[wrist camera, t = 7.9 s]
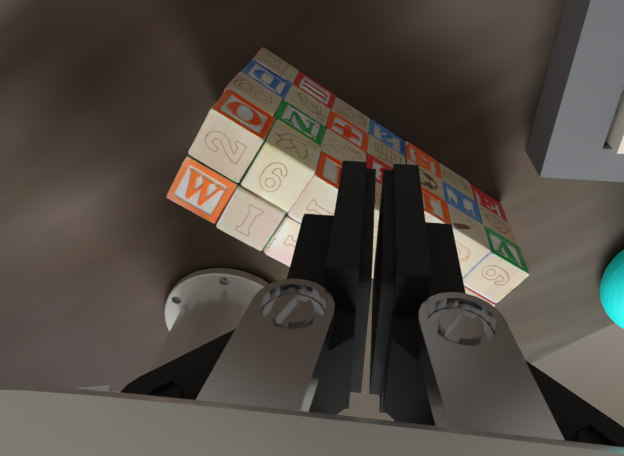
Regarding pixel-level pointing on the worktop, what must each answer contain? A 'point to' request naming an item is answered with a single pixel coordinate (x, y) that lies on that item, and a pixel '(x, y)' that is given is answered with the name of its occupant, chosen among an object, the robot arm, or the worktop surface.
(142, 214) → the worktop surface
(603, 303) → the donuts
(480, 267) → the stack of blocks
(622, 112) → the cream key
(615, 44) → the key panel
